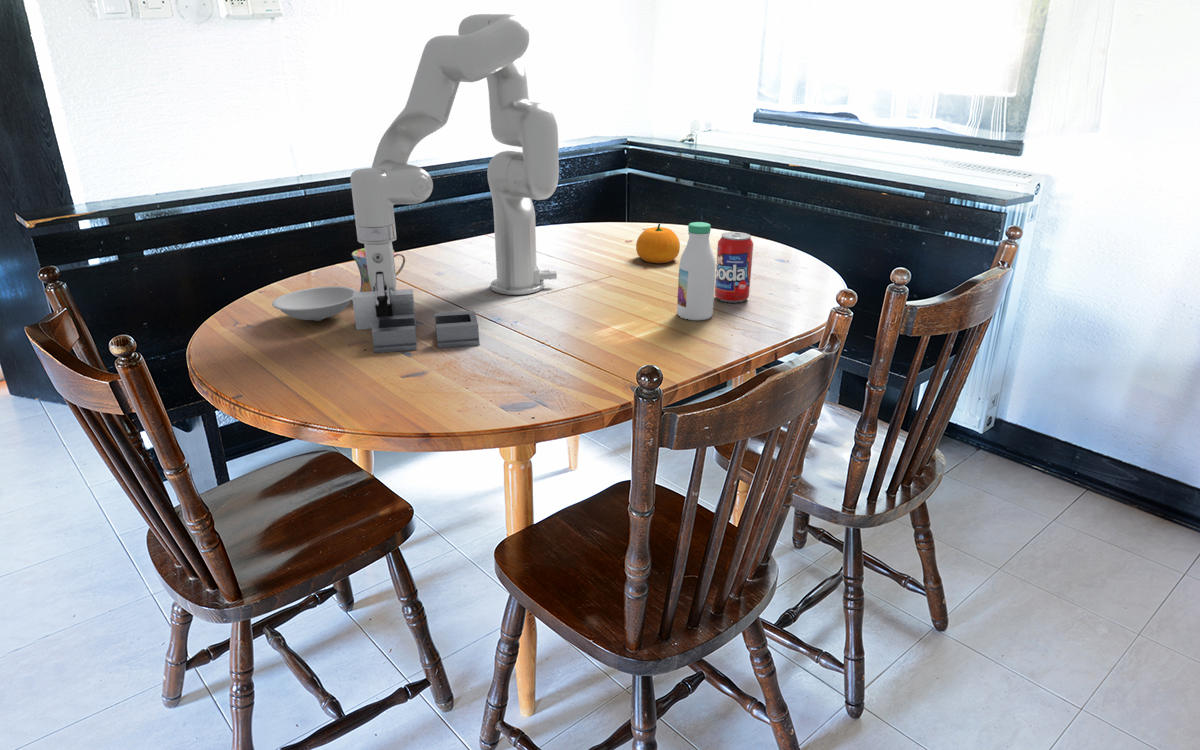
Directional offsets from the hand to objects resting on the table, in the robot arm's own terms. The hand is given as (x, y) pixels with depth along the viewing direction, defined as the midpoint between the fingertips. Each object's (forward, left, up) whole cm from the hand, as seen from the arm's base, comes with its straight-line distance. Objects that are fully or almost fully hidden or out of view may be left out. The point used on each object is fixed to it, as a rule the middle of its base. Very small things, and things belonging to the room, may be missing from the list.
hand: (385, 318), depth 165 cm
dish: (+14, -6, -2) cm, 15 cm away
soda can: (-77, -1, -2) cm, 77 cm away
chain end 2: (-14, +11, -1) cm, 18 cm away
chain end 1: (-2, +11, -1) cm, 11 cm away
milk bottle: (-65, +8, -2) cm, 66 cm away
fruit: (-70, -37, -2) cm, 79 cm away
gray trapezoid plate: (0, 0, -2) cm, 2 cm away
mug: (+1, -20, -2) cm, 20 cm away
